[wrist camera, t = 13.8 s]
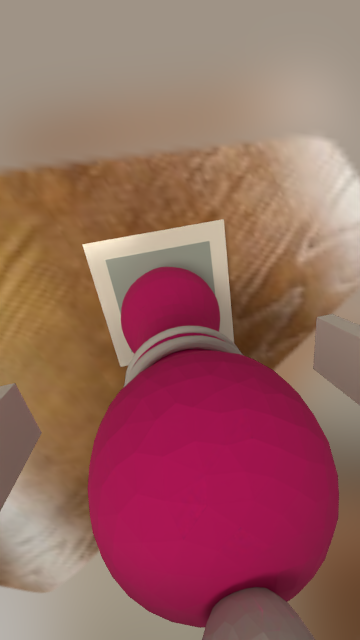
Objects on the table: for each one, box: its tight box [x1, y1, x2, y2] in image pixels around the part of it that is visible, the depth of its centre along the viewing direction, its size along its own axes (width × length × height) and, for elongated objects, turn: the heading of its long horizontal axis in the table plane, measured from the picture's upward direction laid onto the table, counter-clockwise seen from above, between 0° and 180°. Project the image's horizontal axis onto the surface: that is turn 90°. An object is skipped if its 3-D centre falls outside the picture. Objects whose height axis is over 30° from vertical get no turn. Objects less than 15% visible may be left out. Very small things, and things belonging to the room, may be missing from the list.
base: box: [83, 219, 234, 367], centre depth 22 cm, size 12×12×3 cm
